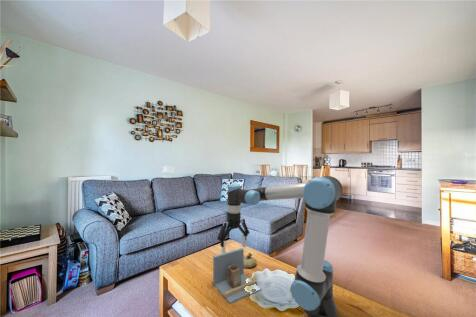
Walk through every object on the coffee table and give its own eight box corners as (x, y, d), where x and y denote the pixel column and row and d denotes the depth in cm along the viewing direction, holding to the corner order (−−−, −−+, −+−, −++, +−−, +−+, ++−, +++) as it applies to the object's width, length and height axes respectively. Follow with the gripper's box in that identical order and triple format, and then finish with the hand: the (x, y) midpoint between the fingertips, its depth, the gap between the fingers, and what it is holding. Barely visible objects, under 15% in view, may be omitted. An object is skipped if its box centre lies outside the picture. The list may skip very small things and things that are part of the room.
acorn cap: (254, 271, 127) (259, 256, 133) (238, 263, 129) (244, 249, 135) (252, 274, 134) (256, 259, 141) (237, 267, 137) (243, 253, 143)
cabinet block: (240, 286, 110) (241, 268, 110) (233, 289, 107) (233, 270, 107) (234, 279, 116) (234, 262, 116) (226, 282, 113) (226, 265, 113)
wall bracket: (261, 289, 108) (261, 260, 108) (229, 304, 97) (230, 271, 97) (240, 272, 125) (240, 247, 125) (212, 283, 114) (212, 255, 114)
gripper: (247, 207, 122) (247, 242, 121) (211, 213, 108) (211, 252, 108) (255, 210, 116) (255, 246, 115) (217, 216, 102) (217, 257, 102)
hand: (233, 249), depth 112 cm, fingers open, 13 cm apart
